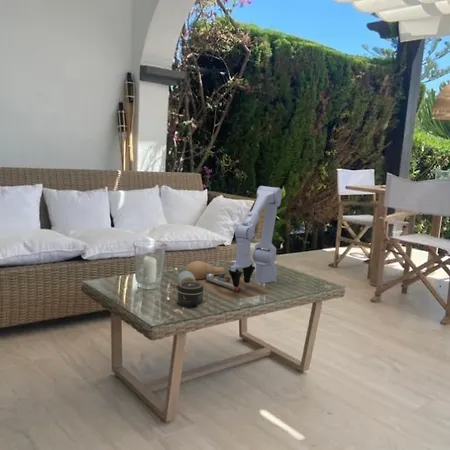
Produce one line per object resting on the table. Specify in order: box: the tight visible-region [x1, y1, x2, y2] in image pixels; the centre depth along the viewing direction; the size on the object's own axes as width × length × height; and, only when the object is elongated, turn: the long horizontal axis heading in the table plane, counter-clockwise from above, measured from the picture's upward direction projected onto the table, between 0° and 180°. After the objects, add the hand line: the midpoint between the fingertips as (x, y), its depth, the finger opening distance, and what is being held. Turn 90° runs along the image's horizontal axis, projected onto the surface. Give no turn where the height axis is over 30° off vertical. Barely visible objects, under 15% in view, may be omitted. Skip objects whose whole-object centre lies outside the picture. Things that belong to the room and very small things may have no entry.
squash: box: [185, 260, 226, 281], centre depth 227 cm, size 11×20×9 cm, turn 130°
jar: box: [177, 282, 204, 308], centre depth 192 cm, size 10×10×8 cm
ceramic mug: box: [176, 270, 197, 286], centre depth 208 cm, size 11×8×8 cm
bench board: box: [196, 271, 275, 301], centre depth 213 cm, size 24×28×4 cm
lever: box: [205, 273, 241, 291], centre depth 213 cm, size 20×5×3 cm, turn 45°
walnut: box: [224, 274, 231, 281], centre depth 221 cm, size 3×3×3 cm
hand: (241, 284), depth 208 cm, fingers open, 7 cm apart
